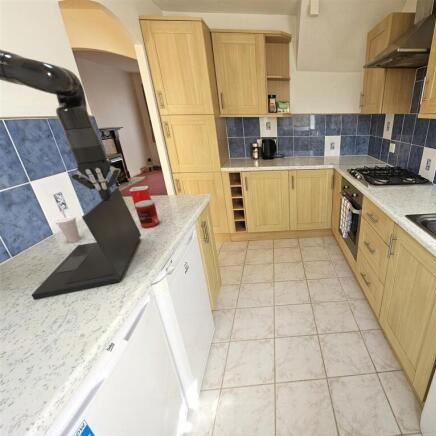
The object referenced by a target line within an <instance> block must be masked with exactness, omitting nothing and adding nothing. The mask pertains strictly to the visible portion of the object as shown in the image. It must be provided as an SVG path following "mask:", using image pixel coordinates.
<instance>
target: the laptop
mask: <svg viewBox="0 0 436 436" xmlns="http://www.w3.org/2000/svg"><path fill="white" fill-rule="evenodd" d="M140 241H141V238H140V239H139V241H138V243H137V245H136V247H135V249H134V251H133V253H132V255H131V257H130V259H129V261H128V263H127V265H126V267H125V269H124V271H123V273H122V275H121V277H119V278H118V277H117V276H116V274H115V272H114V271H113V269H112V267H111V266H110V264H109V262H108V260H107V259H106V257H105V255H104V254H103V252H102V250H101V249H100V247H99V245H98V244H97V242H96V241H95V242H90V243H84V244H78V245H77V246H75V248H74V249H73V250H72V251H71V252H70V253H69V254H68V255H67V256H66V257H65V258H64V260H63V261H61V263H60V264H59V265H58V266H57V267H56V268H55V269H54V270H53V271H52V272H51V273H50V274H49V275H48V276H47V278H46V279H45V280H44V281H43V282H42V283H40V284H39V286H38V287H37V288H36V289H35V291H33V292H32V294H31V297H32V299H33V301H35V300H36V301H37V300H41V299H45V298H51V297H55V296H60V295H65V294H70V293H74V292H79V291H85V290H90V289H96V288H100V287H106V286H110V285H115V284H119V283H120V282H121V280H122V278H123V275H124V274H125V272H126V269H127V268H128V266H129V263H130V262H131V259H132V257H133V255H134V253H135V251H136V249H137V247H138V245H139V243H140Z"/></svg>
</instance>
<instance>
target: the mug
mask: <svg viewBox="0 0 436 436" xmlns="http://www.w3.org/2000/svg"><path fill="white" fill-rule="evenodd" d="M129 192H130V195H131V198H132V201H133V206H134V208H135V210H136V207H135V204H136V203H138V202H140V201H145V200H152V198H151V193H150V190H149V186H148V185H142V186H135V187H134V186H133V187H131V188H130V189H129Z"/></svg>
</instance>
